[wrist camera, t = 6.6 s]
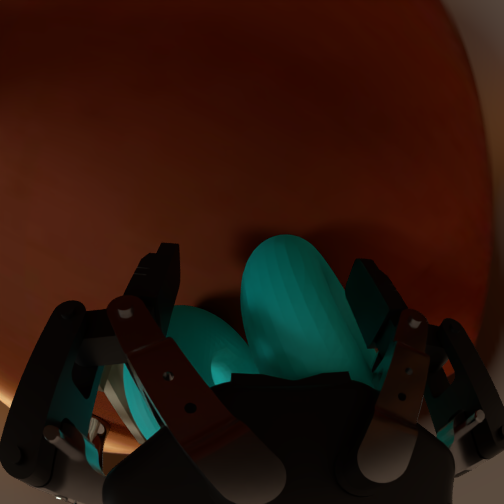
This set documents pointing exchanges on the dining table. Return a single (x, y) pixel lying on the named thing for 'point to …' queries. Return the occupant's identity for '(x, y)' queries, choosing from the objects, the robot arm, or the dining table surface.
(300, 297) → the teal diabolo
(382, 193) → the dining table surface
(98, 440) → the beer glass
